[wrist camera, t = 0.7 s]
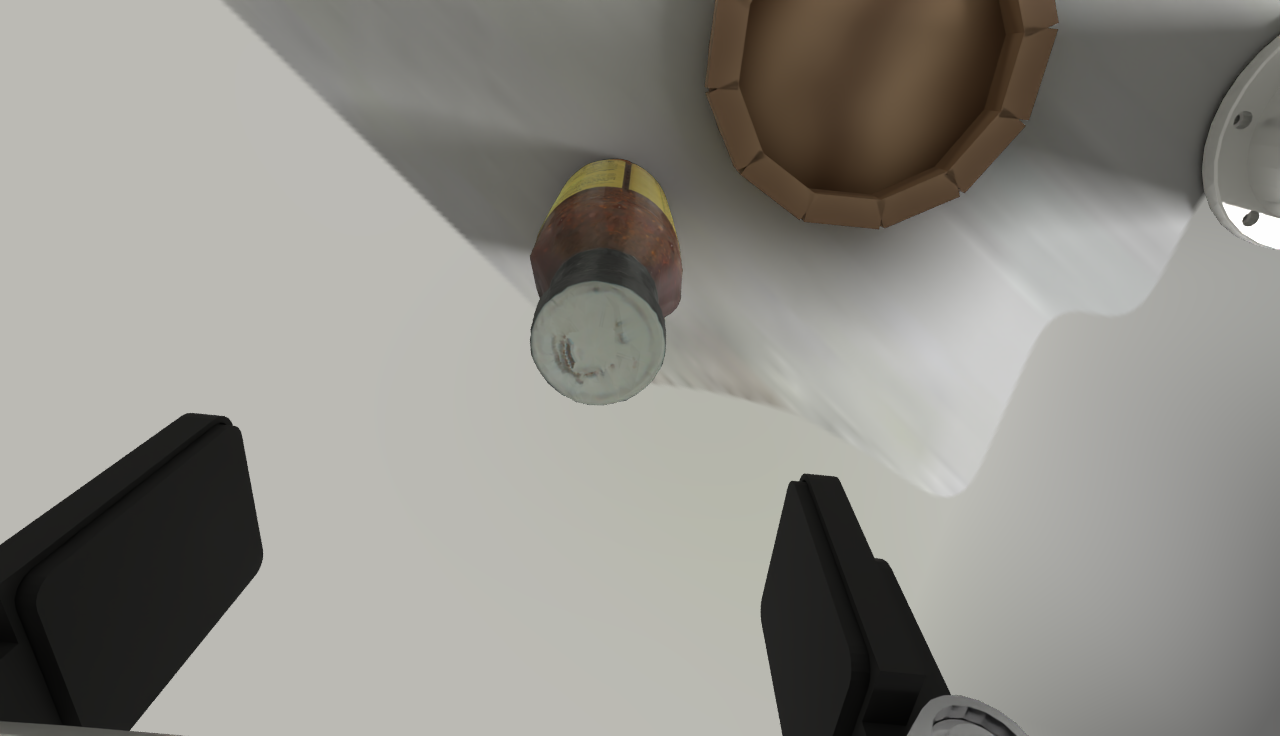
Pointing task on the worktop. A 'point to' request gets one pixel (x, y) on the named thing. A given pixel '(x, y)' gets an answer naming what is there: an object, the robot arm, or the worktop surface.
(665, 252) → the sauce bottle
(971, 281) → the worktop surface
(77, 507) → the robot arm
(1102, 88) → the worktop surface
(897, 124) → the walnut bowl
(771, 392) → the worktop surface
